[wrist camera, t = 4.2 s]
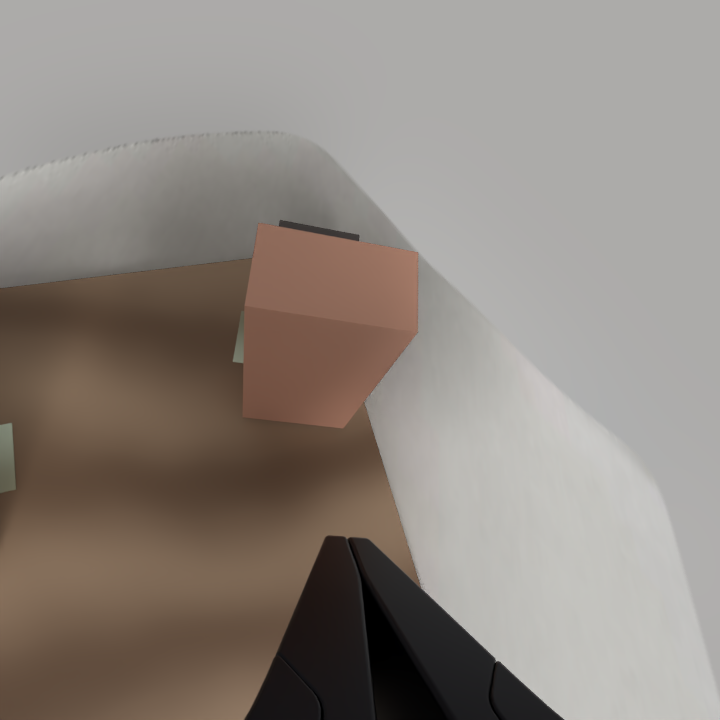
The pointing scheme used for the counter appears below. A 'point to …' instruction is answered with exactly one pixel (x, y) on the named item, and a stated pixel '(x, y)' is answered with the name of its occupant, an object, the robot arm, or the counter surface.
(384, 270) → the salmon pink rectangular block
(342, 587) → the robot arm
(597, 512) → the counter surface
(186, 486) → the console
